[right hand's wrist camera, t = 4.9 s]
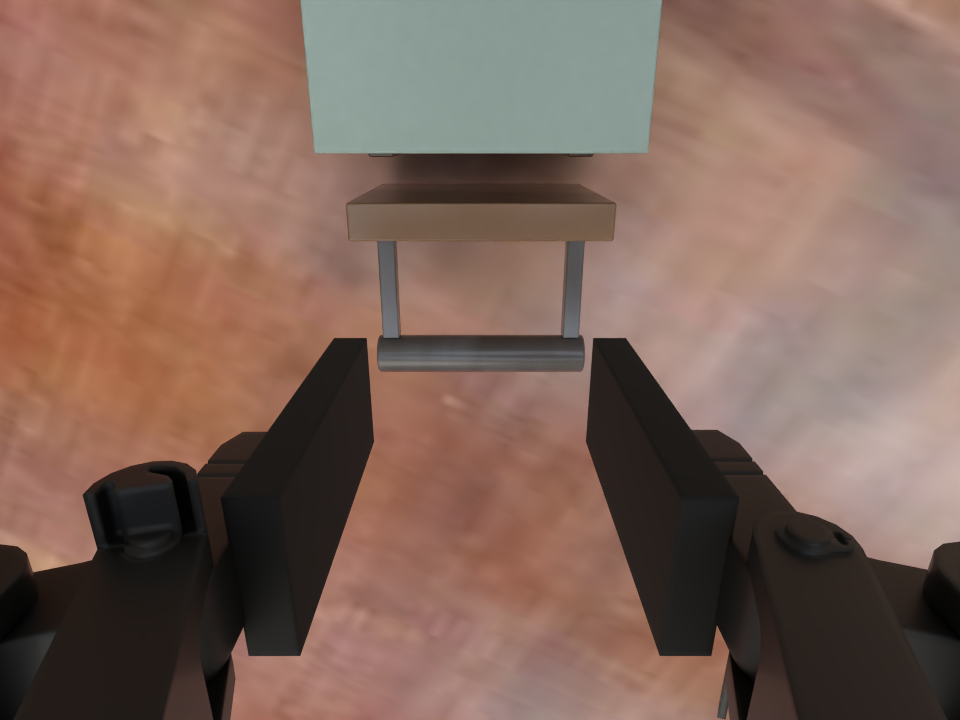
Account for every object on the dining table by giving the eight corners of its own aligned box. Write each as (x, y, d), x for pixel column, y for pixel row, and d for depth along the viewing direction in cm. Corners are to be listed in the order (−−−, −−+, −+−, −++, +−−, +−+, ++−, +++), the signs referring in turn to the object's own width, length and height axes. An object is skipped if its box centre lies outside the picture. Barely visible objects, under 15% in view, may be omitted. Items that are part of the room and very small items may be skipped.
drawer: (571, 327, 28) (602, 392, 21) (390, 327, 28) (360, 392, 21) (612, -406, 19) (688, -715, 12) (349, -406, 19) (274, -714, 12)
